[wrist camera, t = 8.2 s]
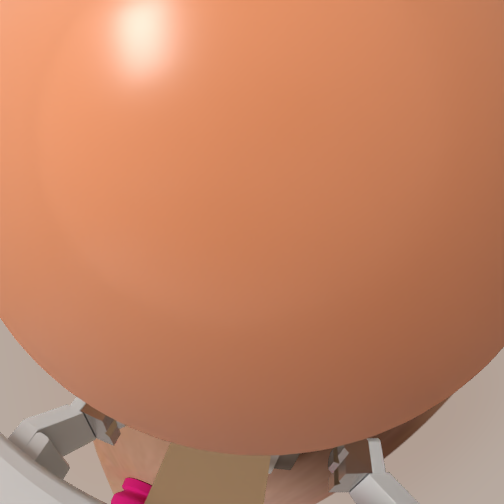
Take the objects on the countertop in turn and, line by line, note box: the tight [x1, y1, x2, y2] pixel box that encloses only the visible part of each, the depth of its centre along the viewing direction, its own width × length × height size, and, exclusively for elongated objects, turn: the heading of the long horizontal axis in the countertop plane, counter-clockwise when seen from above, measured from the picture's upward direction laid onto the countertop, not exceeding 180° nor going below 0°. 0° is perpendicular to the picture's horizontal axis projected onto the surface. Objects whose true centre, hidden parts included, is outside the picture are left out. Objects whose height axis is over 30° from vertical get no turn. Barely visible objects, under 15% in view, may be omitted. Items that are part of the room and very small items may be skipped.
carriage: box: [144, 443, 271, 504], centre depth 9 cm, size 10×9×10 cm
